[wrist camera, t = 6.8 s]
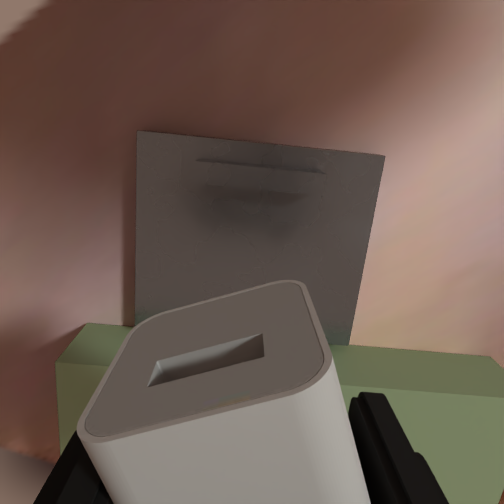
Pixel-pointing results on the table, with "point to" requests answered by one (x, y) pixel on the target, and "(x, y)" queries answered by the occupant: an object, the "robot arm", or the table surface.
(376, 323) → the table surface
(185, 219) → the grey plate with ledge
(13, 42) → the table surface
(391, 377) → the green slab with knob
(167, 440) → the usb wall charger
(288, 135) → the table surface
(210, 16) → the table surface
